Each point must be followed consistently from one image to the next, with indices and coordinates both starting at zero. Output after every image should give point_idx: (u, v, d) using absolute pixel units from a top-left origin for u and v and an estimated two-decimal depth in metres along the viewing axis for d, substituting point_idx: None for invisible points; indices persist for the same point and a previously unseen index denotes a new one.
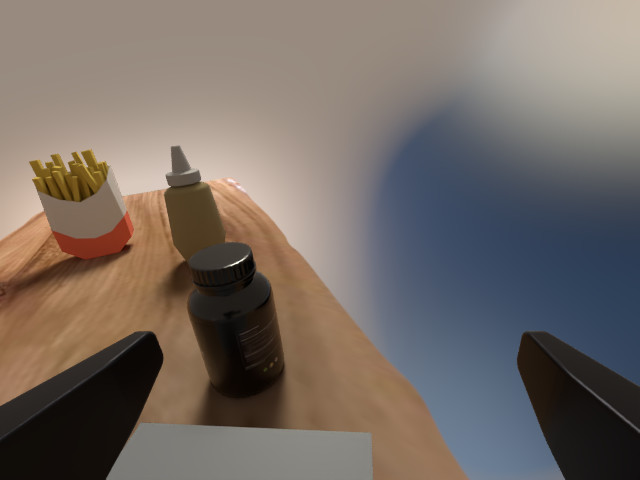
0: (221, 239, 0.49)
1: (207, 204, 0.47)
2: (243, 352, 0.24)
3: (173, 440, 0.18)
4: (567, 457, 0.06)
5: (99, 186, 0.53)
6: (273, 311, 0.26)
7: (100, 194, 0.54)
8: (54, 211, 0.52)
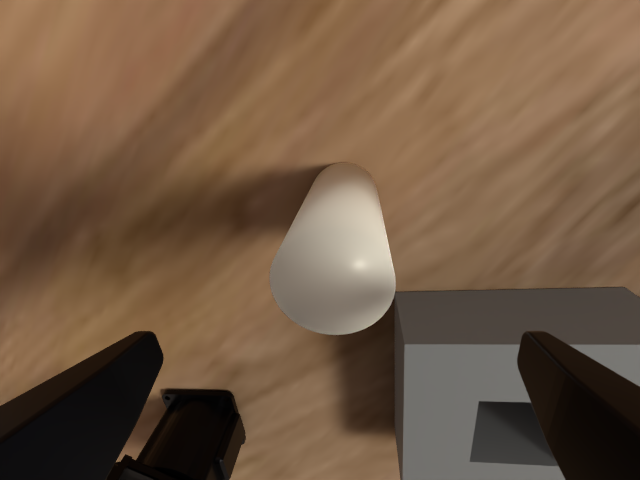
0: None
1: None
2: None
3: None
4: (567, 457, 0.06)
5: None
6: None
7: None
8: None
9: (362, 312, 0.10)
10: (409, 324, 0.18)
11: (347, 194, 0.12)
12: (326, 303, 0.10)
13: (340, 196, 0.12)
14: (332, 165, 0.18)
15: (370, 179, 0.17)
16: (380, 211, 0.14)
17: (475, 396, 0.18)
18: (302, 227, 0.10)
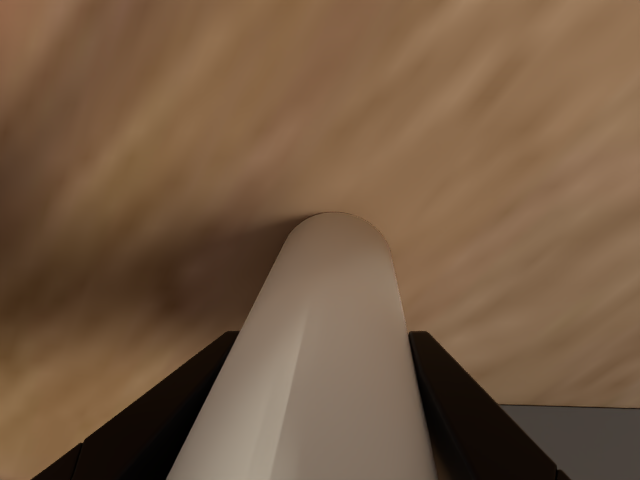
0: None
1: None
2: None
3: None
4: None
5: None
6: None
7: None
8: None
9: None
10: None
11: (333, 363, 0.05)
12: None
13: (313, 379, 0.04)
14: (315, 218, 0.10)
15: (382, 249, 0.09)
16: (412, 366, 0.06)
17: None
18: None
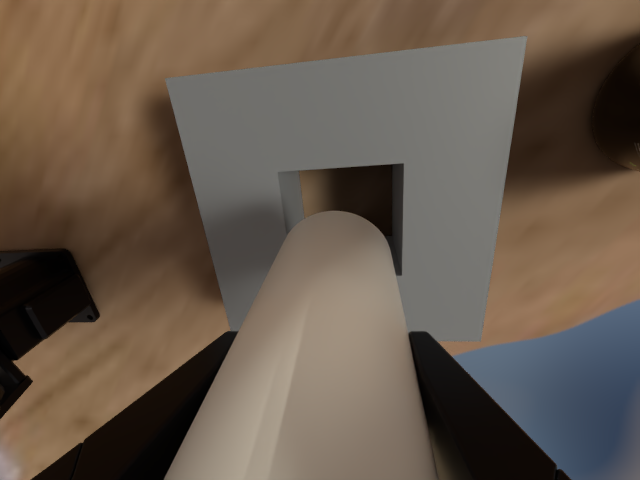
0: None
1: None
2: None
3: (489, 119, 0.12)
4: None
5: None
6: None
7: None
8: None
9: None
10: None
11: (333, 360, 0.05)
12: None
13: (312, 377, 0.04)
14: (314, 216, 0.10)
15: (382, 248, 0.09)
16: (412, 364, 0.06)
17: (270, 163, 0.14)
18: None
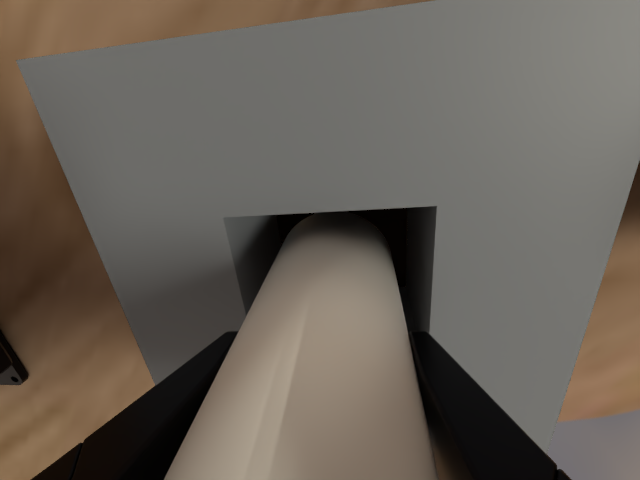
0: None
1: None
2: None
3: (599, 132, 0.07)
4: None
5: None
6: None
7: None
8: None
9: None
10: None
11: (332, 361, 0.05)
12: None
13: (312, 378, 0.04)
14: (314, 216, 0.10)
15: (382, 248, 0.09)
16: (412, 364, 0.06)
17: (211, 204, 0.08)
18: None
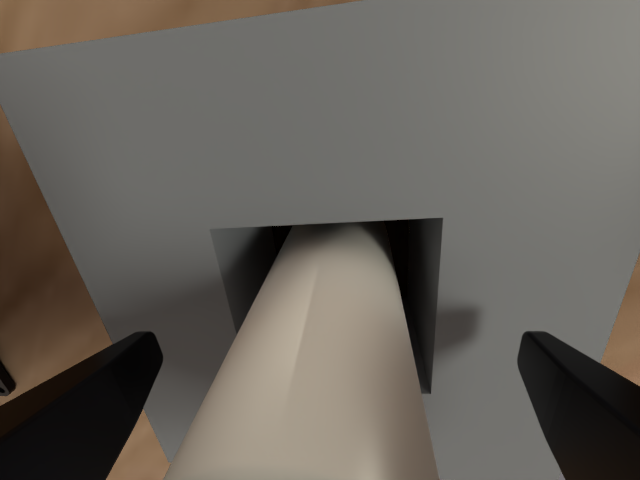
0: None
1: None
2: None
3: (626, 137, 0.06)
4: (567, 457, 0.06)
5: None
6: None
7: None
8: None
9: None
10: None
11: (340, 285, 0.06)
12: None
13: (326, 293, 0.06)
14: None
15: (379, 223, 0.11)
16: (400, 301, 0.08)
17: (196, 214, 0.08)
18: (221, 429, 0.04)
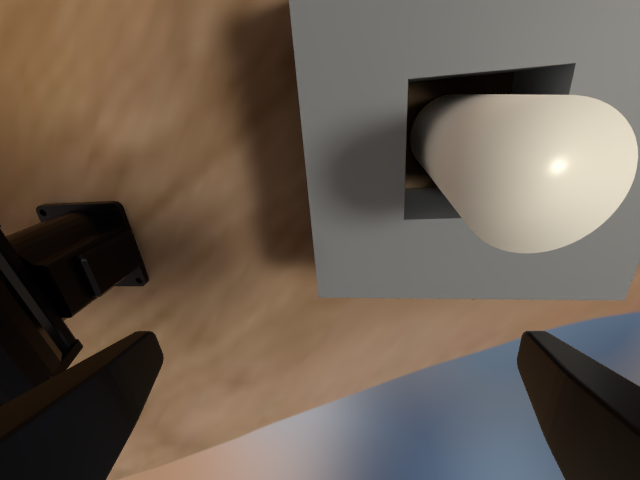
0: None
1: None
2: None
3: None
4: (567, 457, 0.06)
5: None
6: None
7: None
8: None
9: (573, 221, 0.08)
10: None
11: None
12: (528, 209, 0.08)
13: (515, 94, 0.10)
14: (442, 96, 0.16)
15: None
16: None
17: (401, 67, 0.12)
18: (514, 105, 0.08)
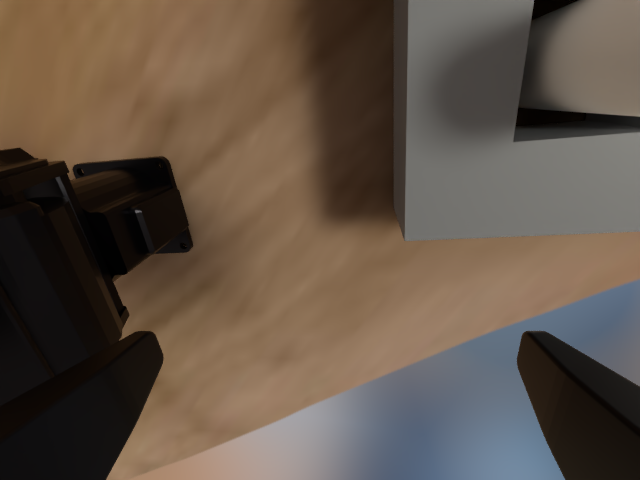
0: None
1: None
2: None
3: None
4: (567, 457, 0.06)
5: None
6: None
7: None
8: None
9: None
10: None
11: None
12: None
13: None
14: None
15: None
16: None
17: None
18: None
